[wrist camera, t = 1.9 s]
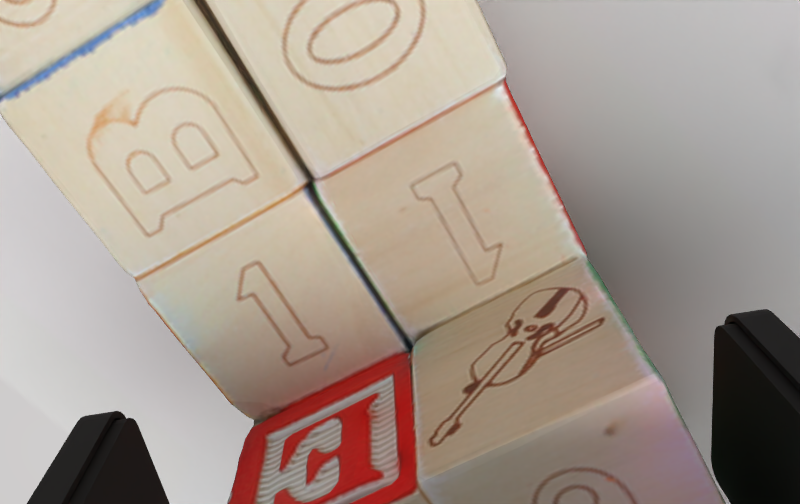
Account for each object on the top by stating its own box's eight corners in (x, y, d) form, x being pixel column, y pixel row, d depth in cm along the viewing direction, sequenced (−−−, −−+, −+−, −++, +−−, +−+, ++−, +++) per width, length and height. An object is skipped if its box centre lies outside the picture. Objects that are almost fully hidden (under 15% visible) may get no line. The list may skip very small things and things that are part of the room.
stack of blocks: (104, -94, 16) (-525, -190, 5) (332, -245, 15) (165, -789, 4) (491, 511, 24) (580, 1008, 13) (663, 440, 23) (926, 917, 12)
